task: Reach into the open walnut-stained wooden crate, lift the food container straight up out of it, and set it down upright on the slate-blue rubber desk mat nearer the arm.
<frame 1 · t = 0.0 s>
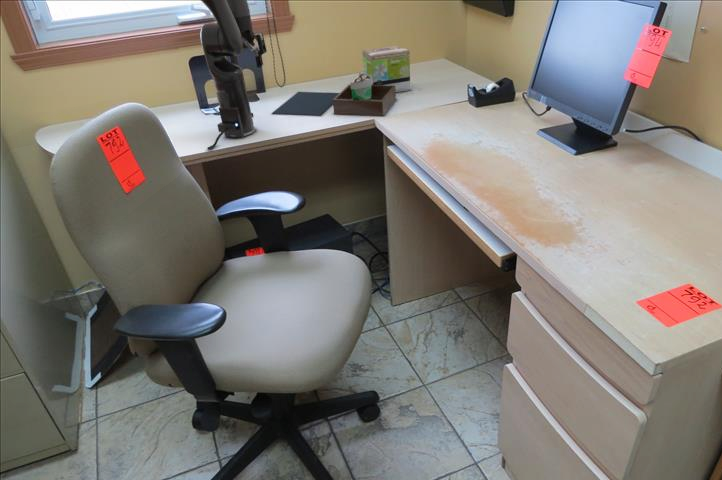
hand: (247, 67, 181), 17 cm above the table, tool pointing down, fingers open, 8 cm apart
crate: (365, 106, 196), on the table
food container: (365, 107, 196), resting in crate
desk mat: (308, 103, 202), on the table
tea box: (387, 90, 211), on the table
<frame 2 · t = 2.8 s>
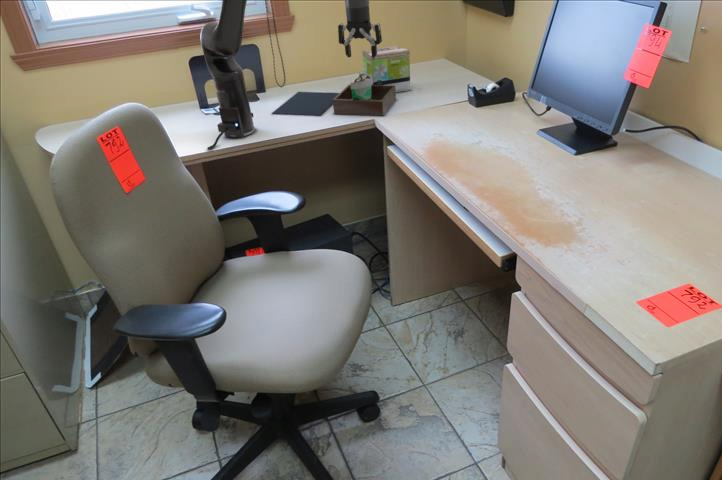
hand: (361, 57, 187), 17 cm above the table, tool pointing down, fingers open, 8 cm apart
nothing on the table moved.
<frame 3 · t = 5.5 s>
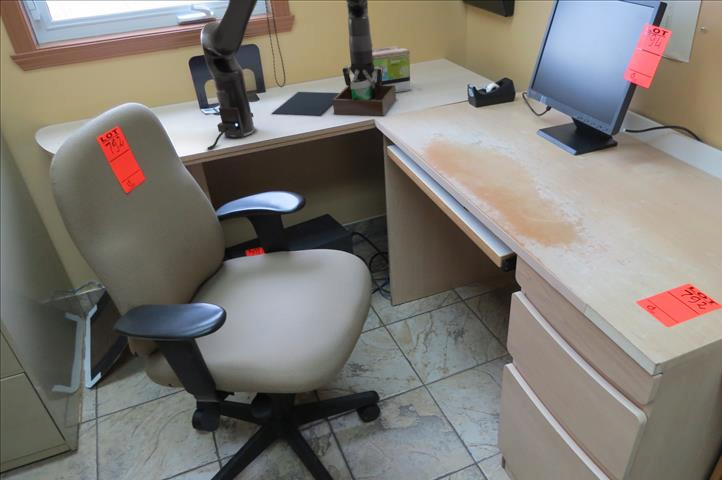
hand: (364, 97, 194), 3 cm above the table, tool pointing down, fingers closed on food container, 6 cm apart
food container: (365, 107, 196), resting in crate, touching gripper
everything else where it was.
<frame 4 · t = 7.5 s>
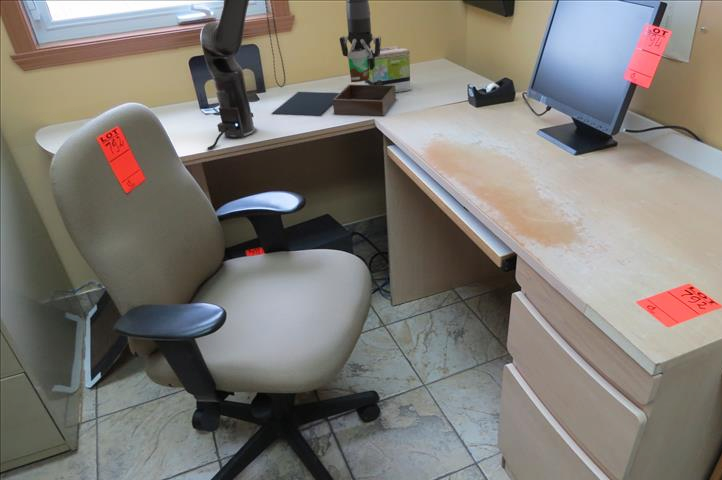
hand: (362, 69, 188), 13 cm above the table, tool pointing down, fingers closed on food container, 6 cm apart
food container: (363, 79, 190), point 10 cm above the table, touching gripper
everything else where it was.
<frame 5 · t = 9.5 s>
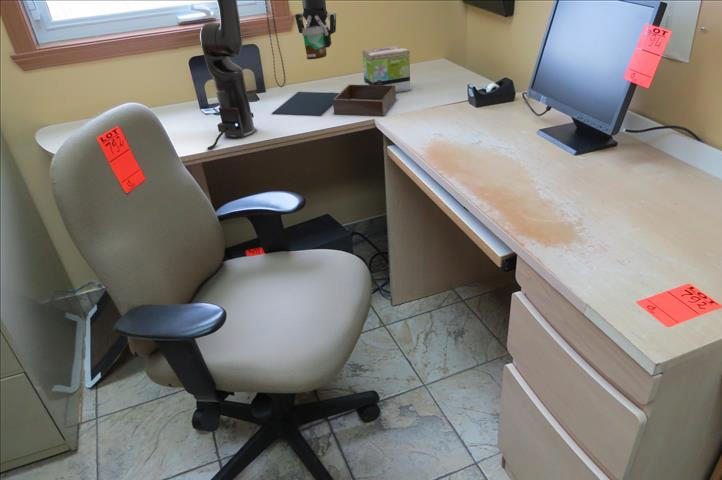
hand: (319, 46, 188), 20 cm above the table, tool pointing down, fingers closed on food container, 6 cm apart
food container: (320, 56, 190), point 17 cm above the table, touching gripper
everything else where it was.
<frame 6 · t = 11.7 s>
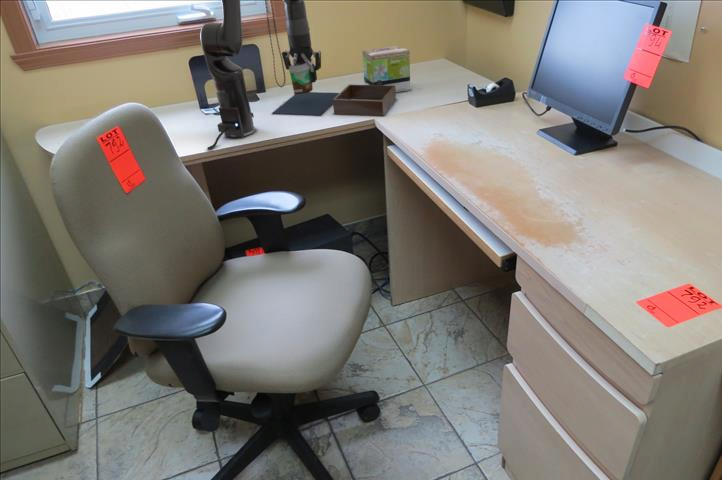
hand: (305, 81, 197), 8 cm above the table, tool pointing down, fingers closed on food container, 6 cm apart
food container: (307, 90, 199), point 5 cm above the table, touching gripper
everything else where it was.
when the fingers open (4 cm above the table, at t = 13.5 s): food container stays where it is, resting on desk mat.
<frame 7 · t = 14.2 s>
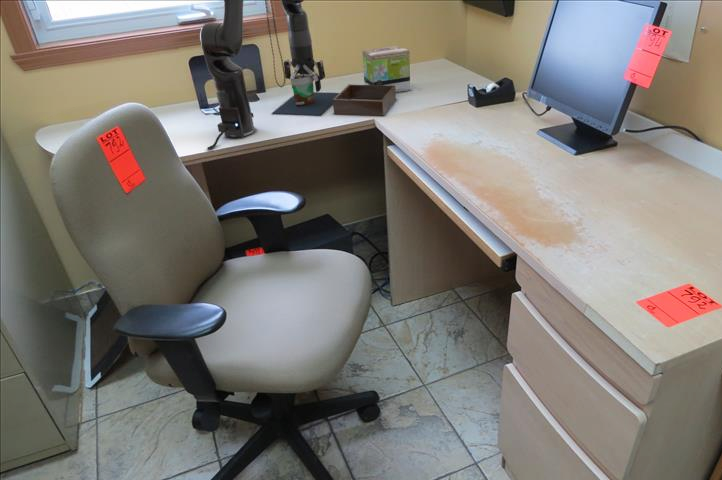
hand: (307, 90, 199), 5 cm above the table, tool pointing down, fingers open, 8 cm apart
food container: (308, 103, 202), resting on desk mat
everything else where it was.
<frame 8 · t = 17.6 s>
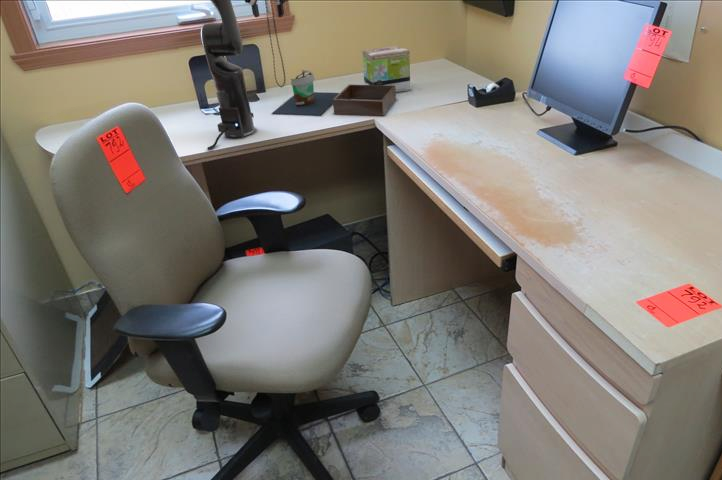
hand: (269, 16, 183), 30 cm above the table, tool pointing down, fingers open, 8 cm apart
nothing on the table moved.
at the end: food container inside the target area on the desk mat (0.1 cm from its centre), point 0.2 cm above the desk mat's base; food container tilted 0°; the gripper is holding nothing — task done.
